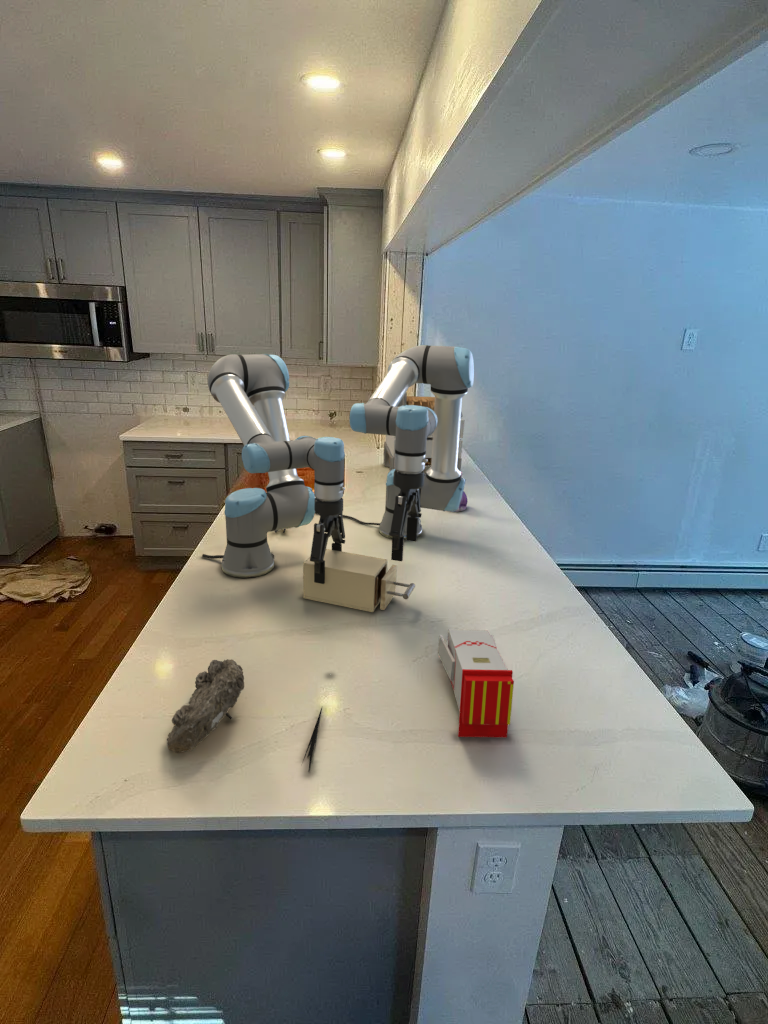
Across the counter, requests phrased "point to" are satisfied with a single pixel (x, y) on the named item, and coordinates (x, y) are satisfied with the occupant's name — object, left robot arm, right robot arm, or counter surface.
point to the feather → (313, 740)
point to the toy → (478, 682)
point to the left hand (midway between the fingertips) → (328, 573)
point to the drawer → (389, 587)
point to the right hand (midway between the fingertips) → (404, 550)
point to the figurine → (462, 501)
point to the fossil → (206, 705)
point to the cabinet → (344, 580)
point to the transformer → (427, 402)
